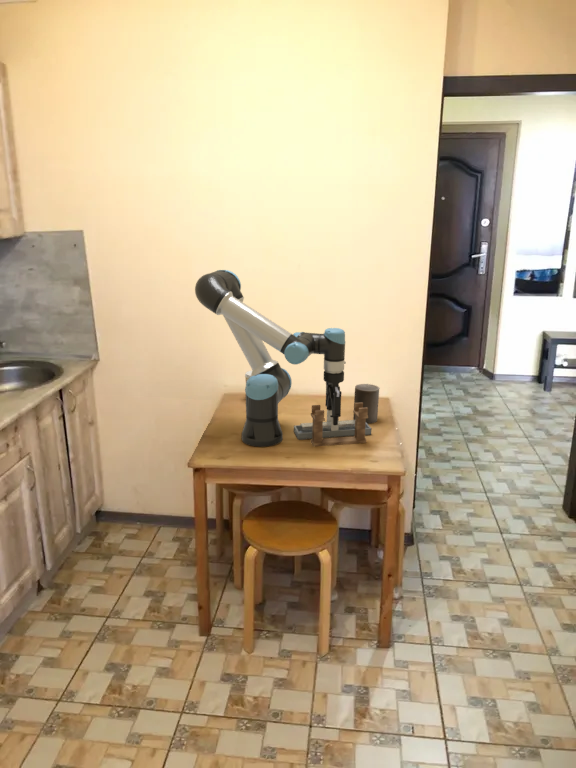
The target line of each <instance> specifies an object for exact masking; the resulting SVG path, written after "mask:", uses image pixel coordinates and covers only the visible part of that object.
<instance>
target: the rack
mask: <svg viewBox="0 0 576 768" xmlns="http://www.w3.org/2000/svg"><path fill="white" fill-rule="evenodd" d="M352 413H353V415H354V414H355V436H347V437H333V438H322V432H323V422H326V421H325V420H326V419H325V409H321V405H320V404H312V405H311V413H310V416H311V418H312V423H313V429H312V439H310V444H311V445H312V447H323V446H324V447H326V446H337V445H350V444H364V443H365V444H366V443H367V439H366V435H365V423H366V418H368V408H367V407H365V408H363V403H362V402H360V403H354V402H353V410H352Z"/></svg>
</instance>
